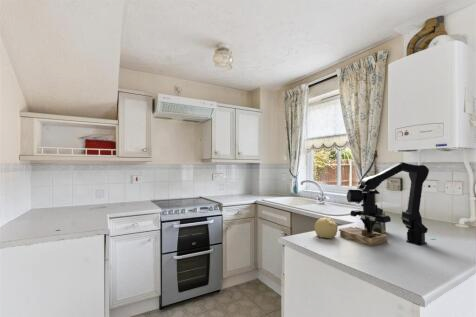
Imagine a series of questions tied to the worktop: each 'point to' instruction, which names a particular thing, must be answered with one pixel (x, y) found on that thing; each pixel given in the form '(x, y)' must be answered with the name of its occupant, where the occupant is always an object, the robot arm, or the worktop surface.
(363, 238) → the tan wooden rectangular frame
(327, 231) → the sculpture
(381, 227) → the chalk box
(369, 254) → the worktop surface
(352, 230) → the cover plate
